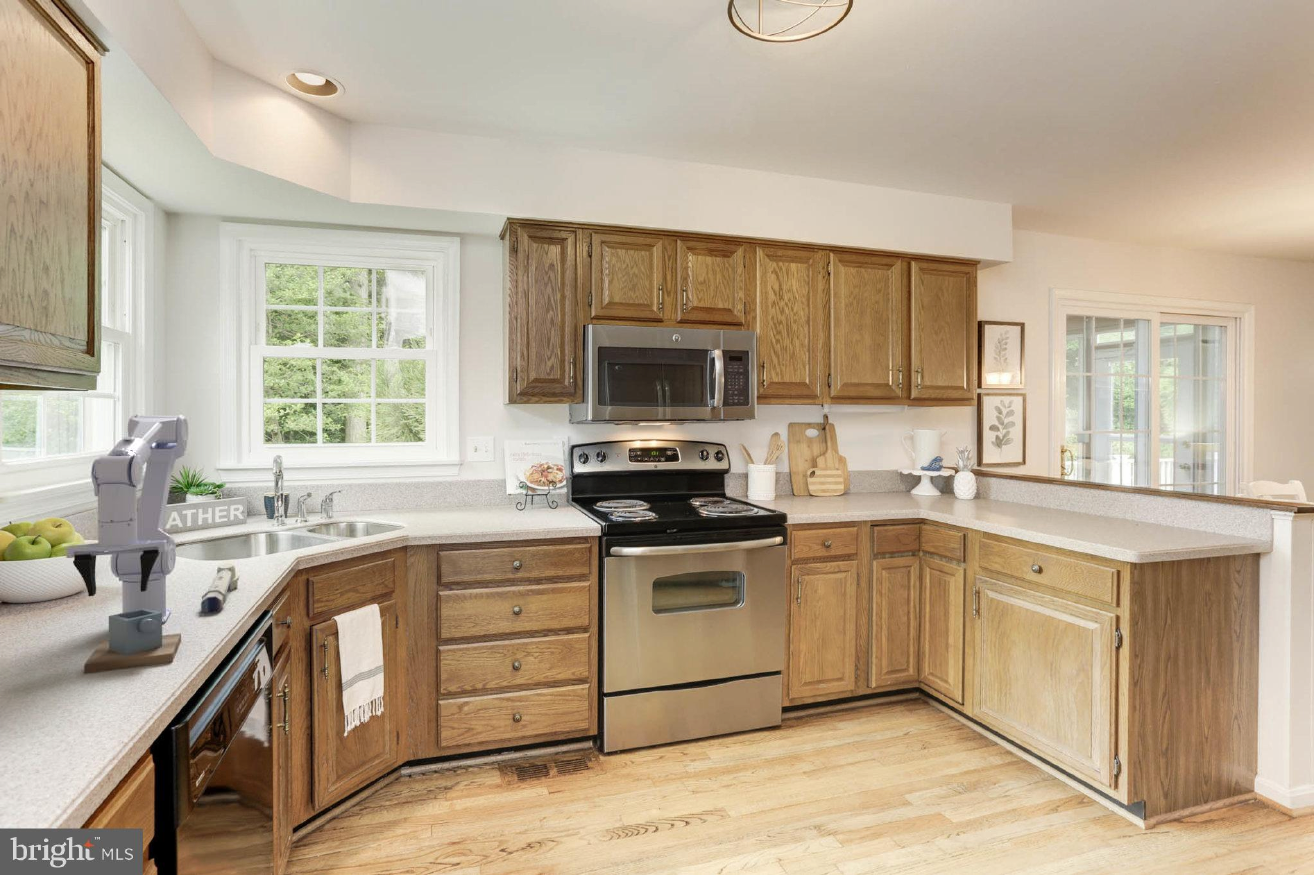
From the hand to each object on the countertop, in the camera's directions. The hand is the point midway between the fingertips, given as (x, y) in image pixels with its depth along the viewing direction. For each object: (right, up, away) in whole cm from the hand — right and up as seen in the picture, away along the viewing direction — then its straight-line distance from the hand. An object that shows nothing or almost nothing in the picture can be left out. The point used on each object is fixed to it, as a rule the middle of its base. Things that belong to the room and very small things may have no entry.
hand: (118, 592), depth 128 cm
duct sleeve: (+8, -8, -7) cm, 13 cm away
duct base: (+8, -10, -6) cm, 14 cm away
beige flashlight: (-1, -9, +31) cm, 32 cm away
